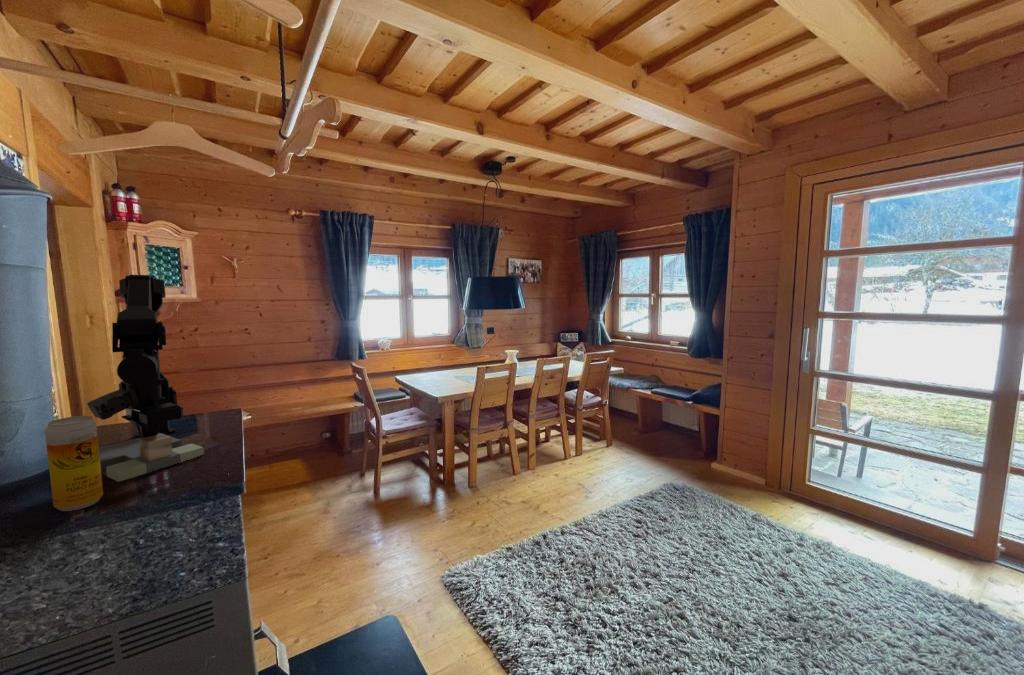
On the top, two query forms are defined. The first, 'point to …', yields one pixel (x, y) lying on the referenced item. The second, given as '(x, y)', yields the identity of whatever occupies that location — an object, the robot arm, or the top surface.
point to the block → (155, 447)
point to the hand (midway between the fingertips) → (148, 446)
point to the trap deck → (128, 463)
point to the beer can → (74, 462)
